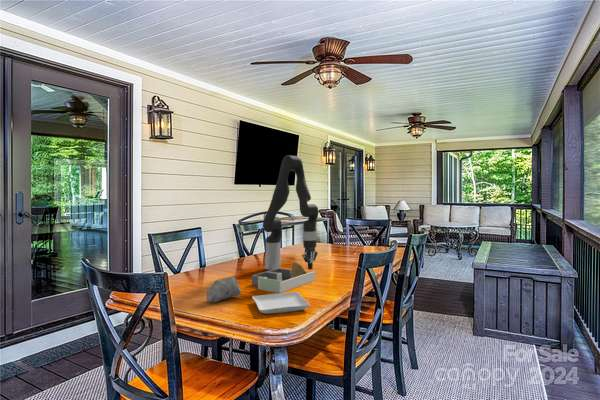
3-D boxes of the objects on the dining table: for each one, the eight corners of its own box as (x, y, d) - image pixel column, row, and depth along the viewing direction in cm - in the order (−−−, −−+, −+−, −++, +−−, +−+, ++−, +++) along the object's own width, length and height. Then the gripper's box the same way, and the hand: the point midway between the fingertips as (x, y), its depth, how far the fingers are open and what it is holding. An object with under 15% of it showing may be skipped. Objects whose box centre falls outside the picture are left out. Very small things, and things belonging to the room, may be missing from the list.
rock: (310, 274, 215) (293, 271, 217) (310, 264, 210) (293, 261, 211) (306, 289, 207) (288, 286, 209) (306, 279, 201) (288, 276, 203)
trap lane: (245, 286, 198) (245, 275, 198) (282, 275, 223) (282, 265, 223) (279, 293, 184) (279, 280, 184) (315, 280, 209) (315, 269, 209)
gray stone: (206, 306, 165) (206, 283, 164) (205, 297, 179) (205, 276, 179) (243, 302, 169) (243, 280, 169) (239, 294, 183) (239, 273, 183)
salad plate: (259, 317, 149) (259, 309, 149) (251, 303, 170) (251, 295, 170) (311, 312, 155) (310, 304, 155) (297, 298, 175) (297, 291, 175)
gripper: (310, 237, 225) (311, 266, 225) (297, 240, 214) (298, 270, 215) (321, 238, 221) (322, 268, 221) (308, 240, 210) (309, 272, 210)
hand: (310, 269), depth 218 cm, fingers closed
